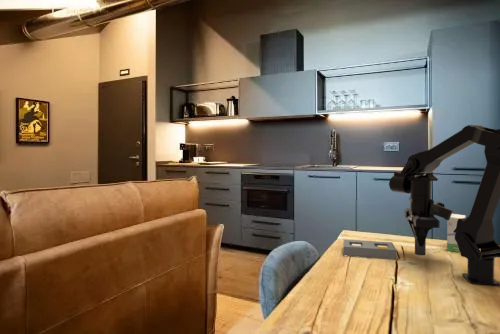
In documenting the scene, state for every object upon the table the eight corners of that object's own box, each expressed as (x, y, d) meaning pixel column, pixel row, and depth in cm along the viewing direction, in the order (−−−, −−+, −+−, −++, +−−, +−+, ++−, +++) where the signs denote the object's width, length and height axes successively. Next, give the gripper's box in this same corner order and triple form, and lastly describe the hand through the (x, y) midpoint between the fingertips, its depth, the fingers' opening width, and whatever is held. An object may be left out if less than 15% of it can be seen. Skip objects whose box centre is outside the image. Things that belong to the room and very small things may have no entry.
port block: (396, 259, 104) (396, 248, 104) (343, 255, 109) (343, 245, 108) (391, 250, 114) (391, 240, 114) (343, 247, 118) (343, 238, 118)
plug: (426, 255, 102) (426, 229, 102) (415, 255, 103) (416, 229, 102) (424, 253, 105) (424, 227, 104) (413, 252, 105) (414, 227, 105)
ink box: (463, 253, 111) (464, 218, 111) (446, 250, 114) (446, 216, 114) (465, 247, 118) (466, 214, 118) (449, 245, 121) (449, 213, 121)
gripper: (460, 199, 92) (459, 255, 92) (440, 192, 110) (440, 239, 110) (416, 198, 95) (415, 252, 95) (404, 191, 113) (403, 237, 113)
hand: (420, 244), depth 103 cm, fingers closed on plug, 3 cm apart
